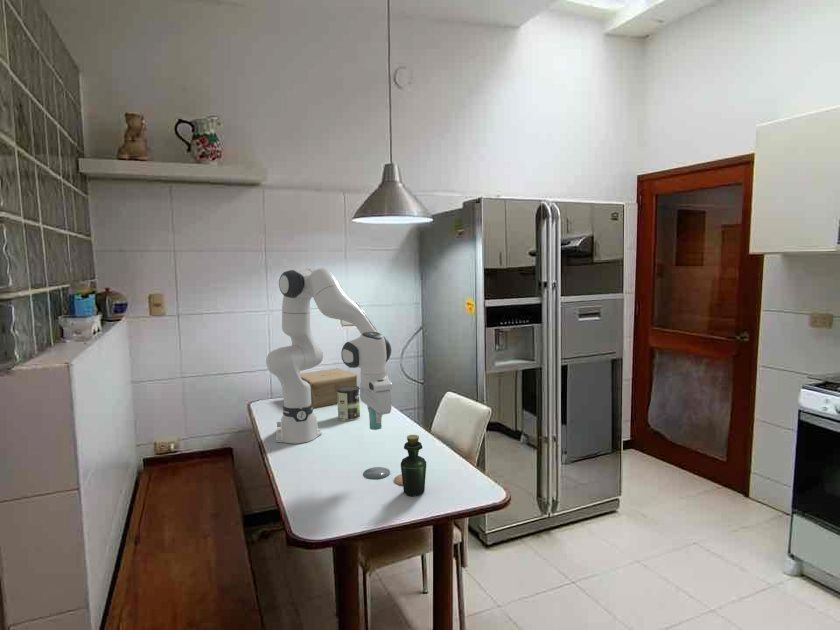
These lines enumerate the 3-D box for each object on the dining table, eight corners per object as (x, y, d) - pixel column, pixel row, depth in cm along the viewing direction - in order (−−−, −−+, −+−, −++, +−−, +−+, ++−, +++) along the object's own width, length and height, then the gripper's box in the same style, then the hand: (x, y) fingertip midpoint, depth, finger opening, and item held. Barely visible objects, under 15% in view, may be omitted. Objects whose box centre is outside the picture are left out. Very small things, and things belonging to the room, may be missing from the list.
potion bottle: (400, 487, 167) (399, 433, 165) (426, 485, 167) (424, 431, 165) (401, 498, 159) (400, 442, 157) (428, 497, 159) (427, 440, 157)
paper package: (338, 390, 292) (337, 366, 290) (360, 400, 271) (359, 374, 269) (292, 398, 277) (291, 373, 275) (311, 409, 255) (310, 382, 254)
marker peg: (368, 427, 177) (367, 407, 176) (378, 425, 179) (378, 405, 178) (372, 430, 173) (371, 410, 173) (383, 428, 175) (382, 408, 174)
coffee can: (361, 414, 246) (360, 385, 244) (358, 421, 236) (357, 390, 234) (339, 414, 246) (338, 385, 245) (336, 421, 236) (334, 391, 234)
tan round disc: (389, 477, 174) (389, 476, 174) (414, 472, 178) (414, 471, 178) (401, 488, 166) (400, 487, 166) (426, 482, 170) (425, 481, 170)
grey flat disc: (360, 471, 180) (359, 470, 180) (384, 466, 184) (383, 465, 184) (369, 481, 172) (369, 479, 172) (394, 475, 176) (394, 474, 176)
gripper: (354, 375, 182) (356, 413, 184) (376, 388, 164) (377, 430, 165) (371, 373, 185) (372, 411, 186) (394, 385, 167) (395, 427, 168)
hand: (375, 420), depth 176 cm, fingers closed on marker peg, 4 cm apart
